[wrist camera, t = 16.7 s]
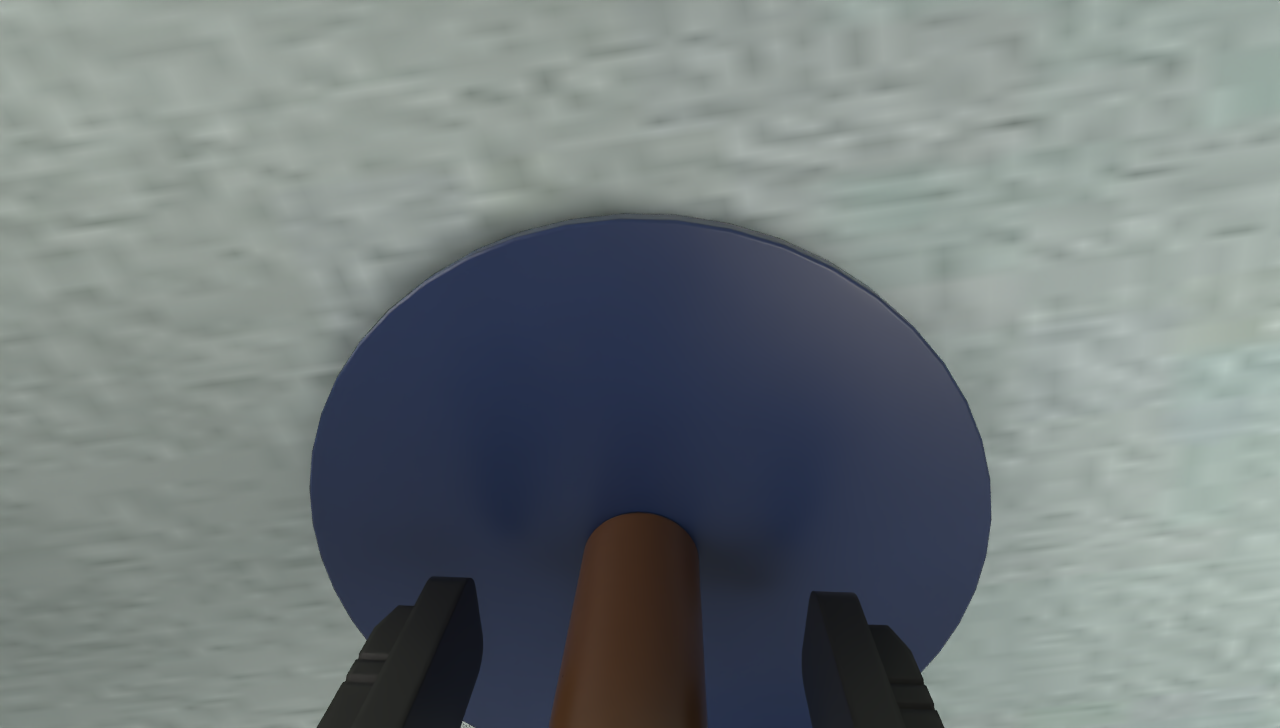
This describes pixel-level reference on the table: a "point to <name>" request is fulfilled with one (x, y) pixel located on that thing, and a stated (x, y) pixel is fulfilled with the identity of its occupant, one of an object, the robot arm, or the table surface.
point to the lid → (650, 470)
